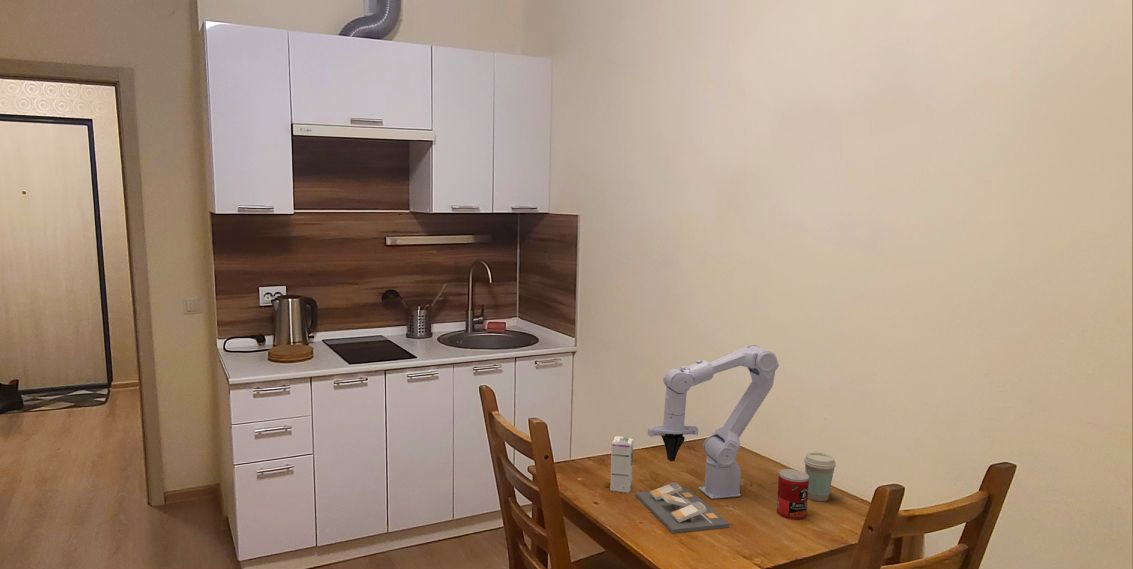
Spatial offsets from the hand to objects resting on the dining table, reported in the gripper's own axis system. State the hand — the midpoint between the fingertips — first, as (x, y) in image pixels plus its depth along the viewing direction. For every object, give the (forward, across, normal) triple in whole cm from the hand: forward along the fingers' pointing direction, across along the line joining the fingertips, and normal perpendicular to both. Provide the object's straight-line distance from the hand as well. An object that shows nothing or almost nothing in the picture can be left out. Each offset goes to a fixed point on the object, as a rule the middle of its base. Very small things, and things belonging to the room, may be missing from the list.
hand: (671, 460), depth 203 cm
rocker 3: (+8, +2, +17) cm, 19 cm away
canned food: (+10, -28, +18) cm, 35 cm away
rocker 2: (+8, +2, +10) cm, 13 cm away
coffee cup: (+10, -42, +10) cm, 44 cm away
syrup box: (+11, +11, -8) cm, 18 cm away
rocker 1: (+8, +2, +3) cm, 9 cm away
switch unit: (+10, +1, +10) cm, 15 cm away
